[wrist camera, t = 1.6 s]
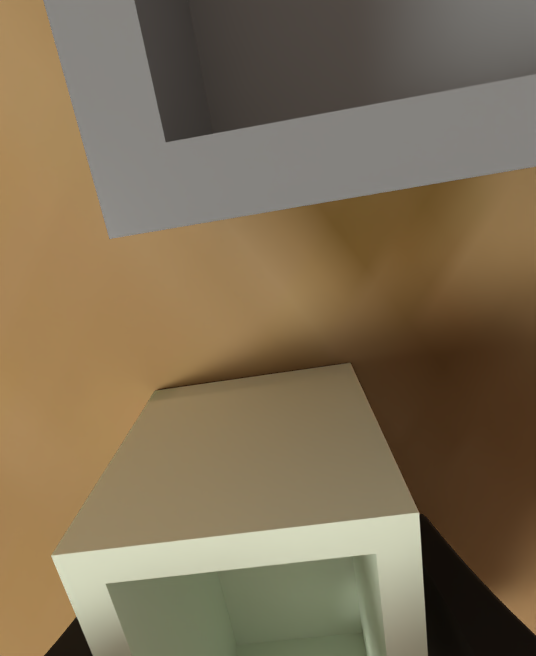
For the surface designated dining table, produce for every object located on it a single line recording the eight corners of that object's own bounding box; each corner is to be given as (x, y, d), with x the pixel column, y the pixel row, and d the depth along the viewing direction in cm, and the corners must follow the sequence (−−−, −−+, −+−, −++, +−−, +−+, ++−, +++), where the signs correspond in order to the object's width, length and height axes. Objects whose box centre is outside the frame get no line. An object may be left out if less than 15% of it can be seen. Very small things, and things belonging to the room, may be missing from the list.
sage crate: (350, 362, 10) (419, 512, 5) (379, 624, 13) (441, 881, 8) (154, 390, 10) (51, 555, 6) (223, 640, 13) (193, 896, 8)
